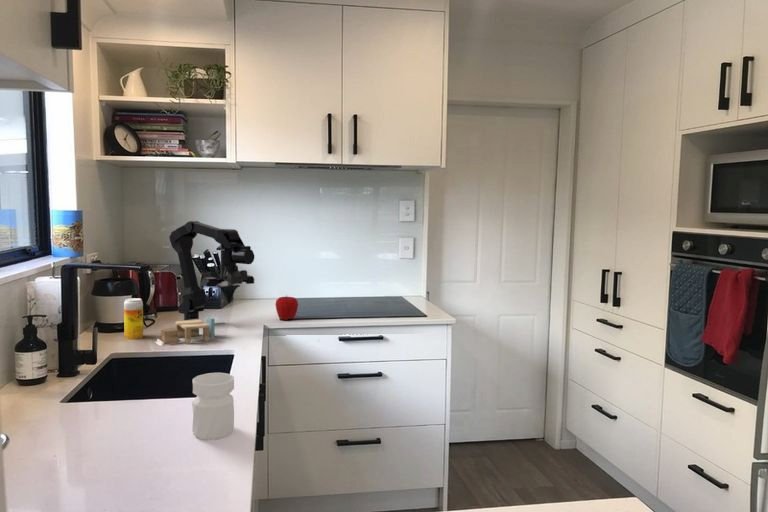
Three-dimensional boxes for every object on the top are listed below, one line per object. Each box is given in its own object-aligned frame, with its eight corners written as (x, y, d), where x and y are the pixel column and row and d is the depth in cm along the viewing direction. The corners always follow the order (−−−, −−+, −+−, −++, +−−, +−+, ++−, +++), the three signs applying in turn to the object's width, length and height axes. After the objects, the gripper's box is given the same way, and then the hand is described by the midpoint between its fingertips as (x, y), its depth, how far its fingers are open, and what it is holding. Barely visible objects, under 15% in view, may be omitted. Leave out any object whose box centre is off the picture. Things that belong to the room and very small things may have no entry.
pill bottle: (214, 420, 123) (214, 370, 122) (242, 429, 119) (242, 377, 118) (183, 434, 116) (183, 380, 115) (211, 444, 112) (211, 388, 110)
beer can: (135, 343, 188) (135, 301, 187) (120, 342, 189) (120, 300, 188) (146, 339, 194) (146, 298, 193) (132, 338, 195) (131, 297, 194)
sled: (154, 344, 186) (154, 322, 185) (208, 337, 198) (208, 316, 197) (159, 348, 181) (159, 325, 180) (215, 340, 193) (215, 319, 192)
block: (160, 341, 186) (160, 328, 186) (173, 339, 189) (173, 327, 189) (164, 344, 183) (164, 331, 182) (177, 342, 185) (177, 329, 185)
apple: (281, 323, 227) (281, 297, 226) (271, 319, 234) (271, 294, 233) (302, 320, 233) (302, 295, 232) (291, 316, 240) (291, 292, 239)
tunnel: (175, 340, 193) (175, 321, 192) (197, 338, 198) (197, 318, 197) (186, 348, 184) (186, 327, 183) (209, 344, 189) (209, 324, 188)
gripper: (212, 265, 191) (212, 308, 192) (260, 263, 203) (260, 304, 204) (201, 262, 200) (201, 304, 201) (248, 260, 211) (248, 299, 213)
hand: (228, 303), depth 204 cm, fingers closed
